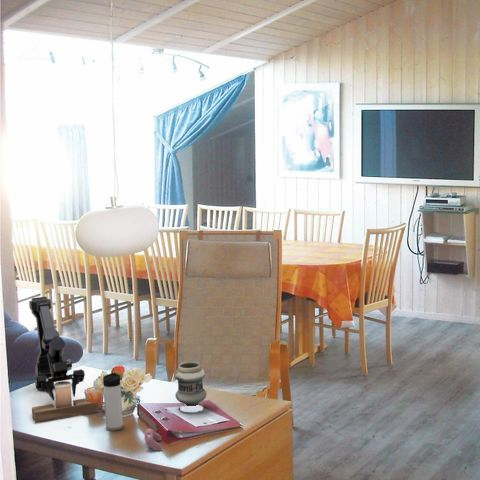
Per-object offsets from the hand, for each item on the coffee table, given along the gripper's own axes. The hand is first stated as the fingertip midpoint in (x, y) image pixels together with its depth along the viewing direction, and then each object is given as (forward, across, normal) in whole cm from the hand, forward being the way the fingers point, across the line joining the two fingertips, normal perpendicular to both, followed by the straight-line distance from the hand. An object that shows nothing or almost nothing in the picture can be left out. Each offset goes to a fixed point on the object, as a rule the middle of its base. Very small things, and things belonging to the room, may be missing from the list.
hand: (64, 398), depth 313 cm
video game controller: (+38, +21, -28) cm, 51 cm away
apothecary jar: (+18, +46, -8) cm, 50 cm away
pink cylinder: (+4, 0, +6) cm, 7 cm away
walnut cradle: (+5, 0, +5) cm, 7 cm away
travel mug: (+21, +13, -11) cm, 27 cm away
